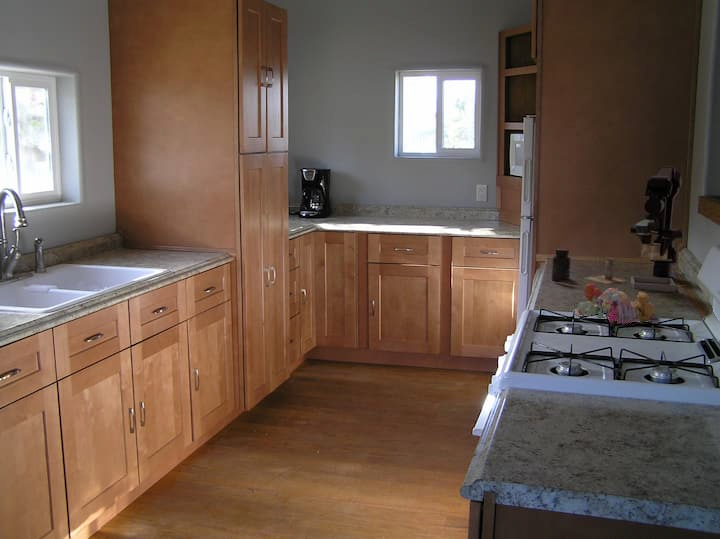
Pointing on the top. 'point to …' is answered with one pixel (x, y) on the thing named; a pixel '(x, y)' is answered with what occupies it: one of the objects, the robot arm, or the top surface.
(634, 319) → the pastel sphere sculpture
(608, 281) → the stake block
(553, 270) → the supplement bottle
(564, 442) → the top surface
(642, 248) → the hollow wooden box
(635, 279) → the slate tray
